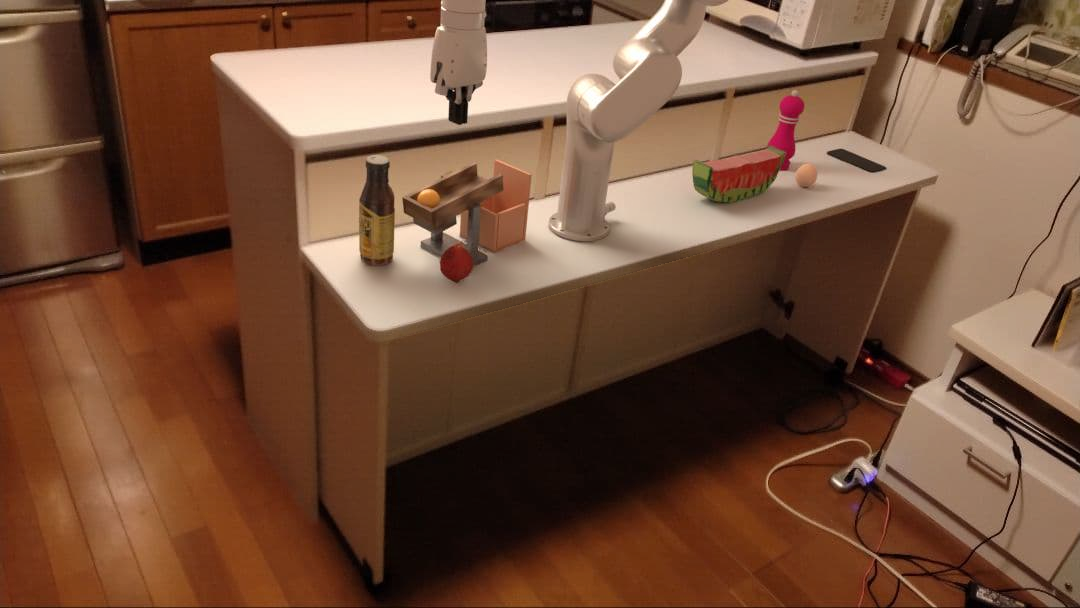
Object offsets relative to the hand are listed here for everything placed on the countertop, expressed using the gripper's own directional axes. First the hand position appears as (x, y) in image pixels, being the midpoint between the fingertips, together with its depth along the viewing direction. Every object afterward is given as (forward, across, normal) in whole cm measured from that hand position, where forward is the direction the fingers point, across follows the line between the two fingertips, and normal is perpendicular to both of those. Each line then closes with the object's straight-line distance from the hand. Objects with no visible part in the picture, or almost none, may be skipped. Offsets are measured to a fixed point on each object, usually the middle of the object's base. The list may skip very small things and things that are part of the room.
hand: (457, 121), depth 153 cm
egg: (+23, -87, +34) cm, 96 cm away
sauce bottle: (+23, +18, -1) cm, 29 cm away
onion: (+23, +13, +14) cm, 30 cm away
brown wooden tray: (+15, +5, +4) cm, 16 cm away
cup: (+23, -5, +6) cm, 24 cm away
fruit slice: (+23, -66, +26) cm, 74 cm away
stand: (+23, +5, +6) cm, 24 cm away
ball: (+10, +12, +6) cm, 17 cm away
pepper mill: (+23, -94, +23) cm, 99 cm away
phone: (+24, -117, +35) cm, 124 cm away
